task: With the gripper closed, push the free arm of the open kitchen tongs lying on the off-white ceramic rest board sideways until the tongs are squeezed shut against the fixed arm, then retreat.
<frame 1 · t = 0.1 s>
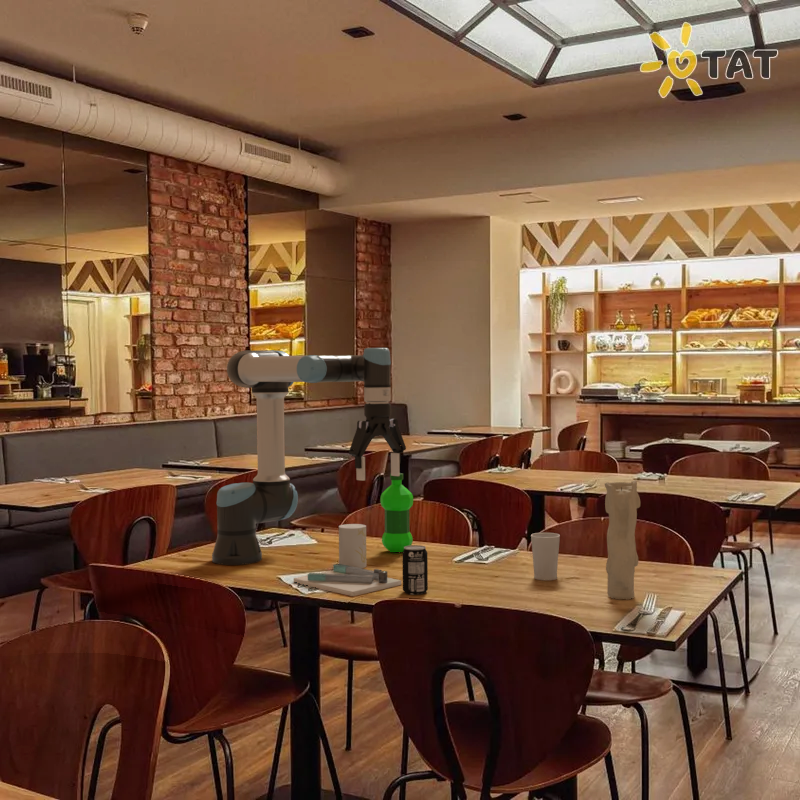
hand: (378, 478, 276), 28 cm above the table, fingers open, 13 cm apart
tongs fixed: (383, 586, 265), resting on rest board
plastic bottle: (397, 552, 314), on the table
cup 2: (545, 578, 274), on the table
beige lumpy column: (621, 598, 250), on the table
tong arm: (340, 577, 266), point 2 cm above the table, hinge at 32.0°
rest board: (347, 583, 269), on the table
cup: (352, 566, 292), on the table
beverage can: (415, 593, 258), on the table
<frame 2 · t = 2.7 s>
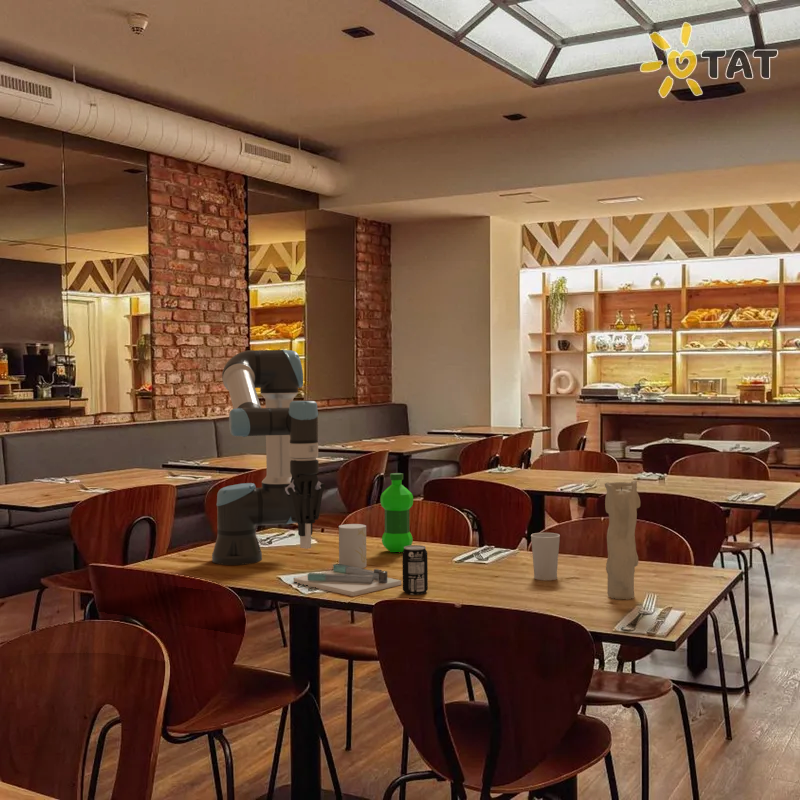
hand: (305, 547, 260), 12 cm above the table, fingers closed
nothing on the table moved.
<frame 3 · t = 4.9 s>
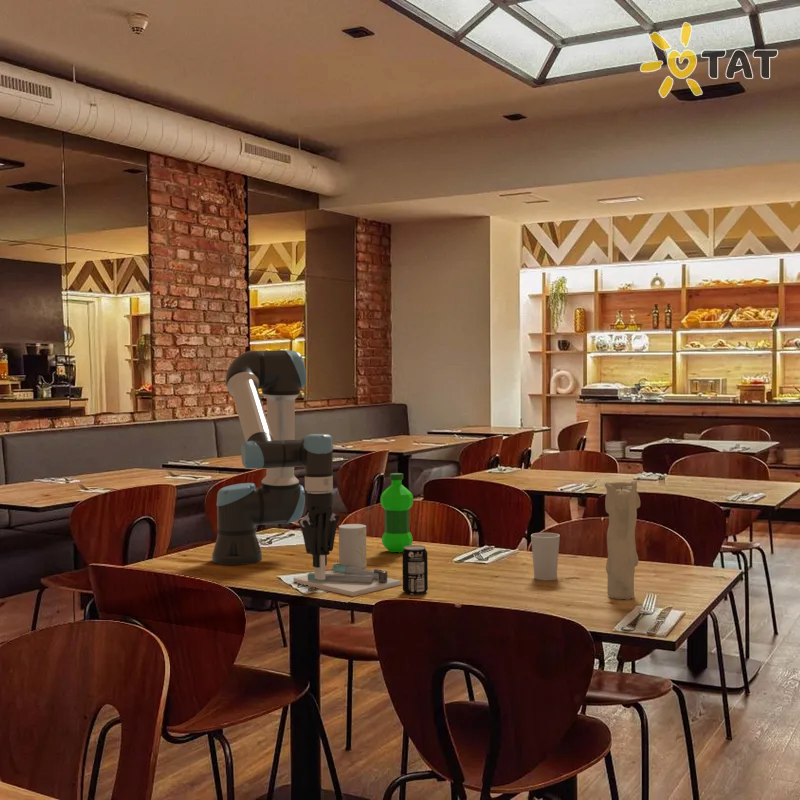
hand: (320, 578, 265), 2 cm above the table, fingers closed
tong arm: (340, 577, 266), point 2 cm above the table, hinge at 32.0°, touching gripper
everything else where it was.
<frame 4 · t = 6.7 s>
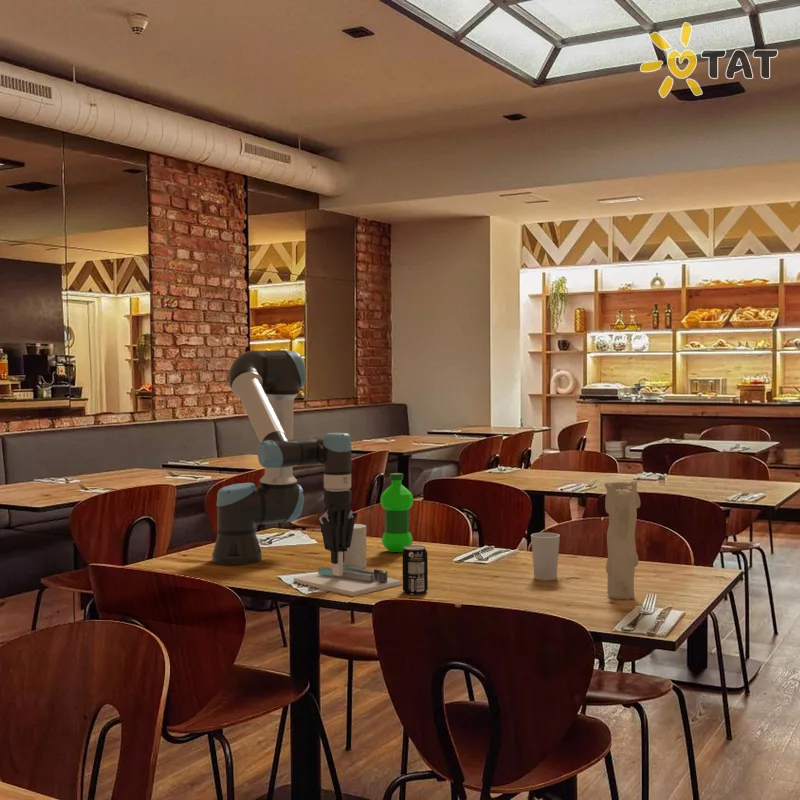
hand: (337, 574, 269), 2 cm above the table, fingers closed
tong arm: (346, 574, 270), point 2 cm above the table, hinge at 9.9°, touching gripper
everything else where it was.
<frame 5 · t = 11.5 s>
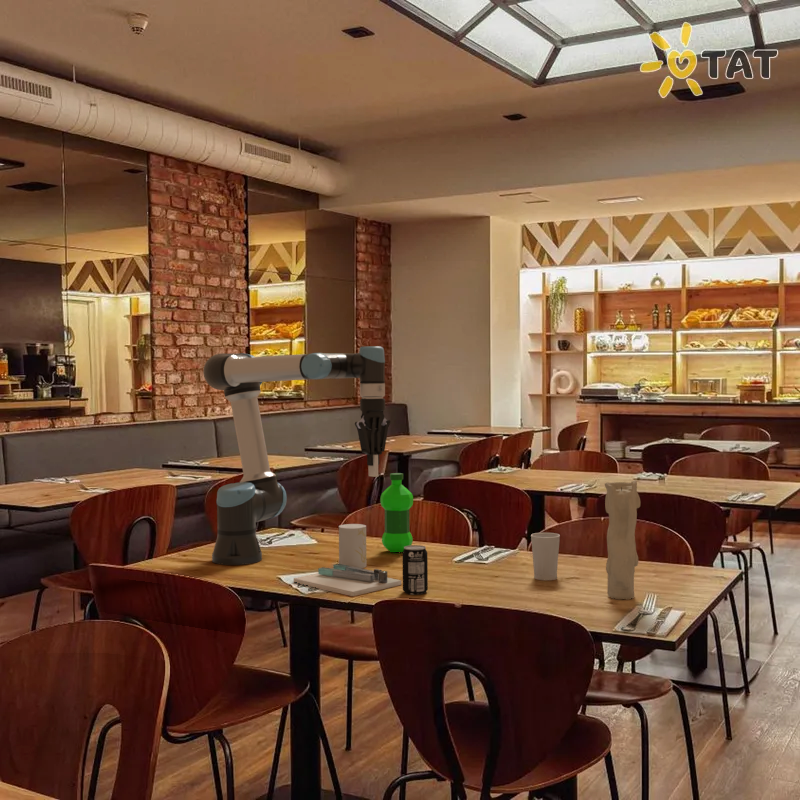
hand: (373, 476, 295), 26 cm above the table, fingers closed
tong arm: (346, 574, 270), point 2 cm above the table, hinge at 9.8°
everything else where it was.
at the end: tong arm at +10° (first picture: +32°) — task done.
